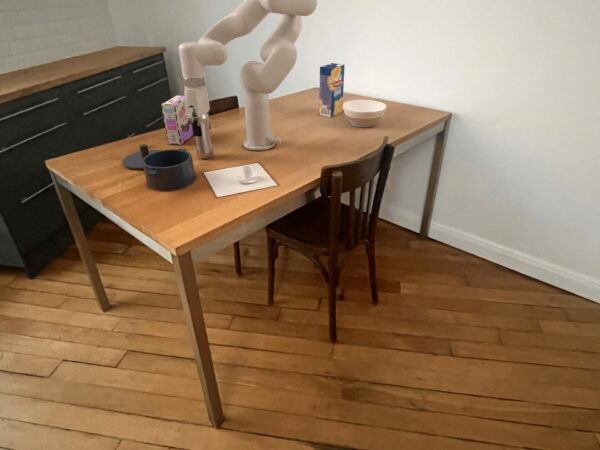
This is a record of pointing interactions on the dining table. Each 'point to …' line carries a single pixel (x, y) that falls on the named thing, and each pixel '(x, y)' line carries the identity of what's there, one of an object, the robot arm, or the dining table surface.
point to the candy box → (176, 121)
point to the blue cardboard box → (331, 89)
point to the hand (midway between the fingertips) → (202, 132)
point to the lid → (137, 157)
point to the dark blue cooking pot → (169, 169)
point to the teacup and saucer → (239, 179)
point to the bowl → (364, 112)
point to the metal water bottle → (204, 139)
